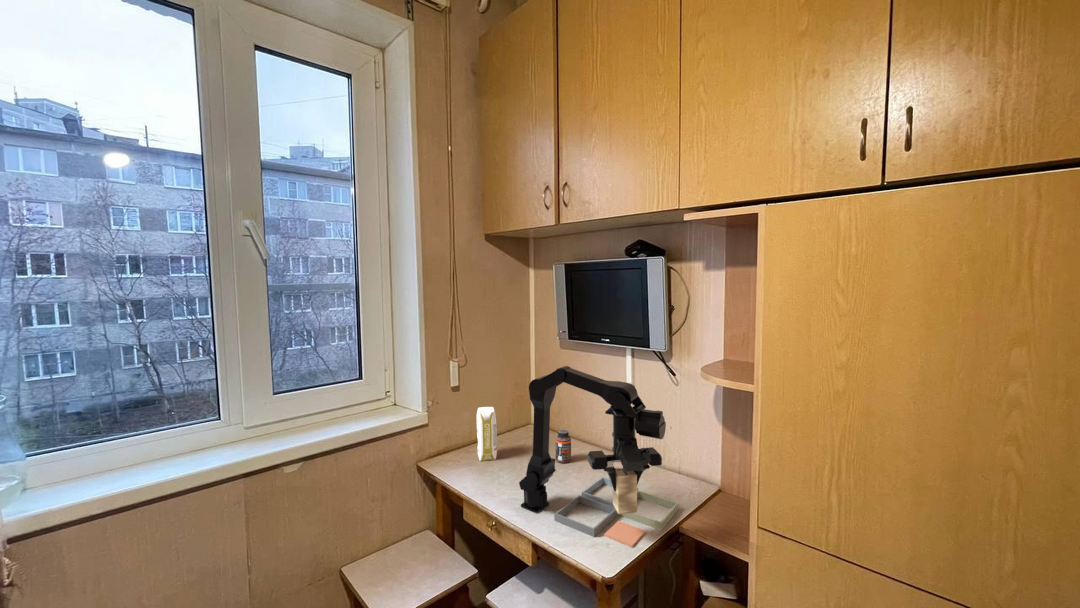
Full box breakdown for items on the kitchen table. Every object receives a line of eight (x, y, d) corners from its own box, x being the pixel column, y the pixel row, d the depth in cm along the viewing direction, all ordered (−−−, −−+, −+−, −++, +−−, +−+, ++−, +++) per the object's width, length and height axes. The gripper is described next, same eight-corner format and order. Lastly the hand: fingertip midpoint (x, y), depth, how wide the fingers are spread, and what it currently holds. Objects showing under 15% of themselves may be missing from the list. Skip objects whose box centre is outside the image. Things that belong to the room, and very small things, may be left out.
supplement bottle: (562, 465, 155) (561, 435, 154) (552, 459, 159) (552, 430, 159) (574, 460, 158) (574, 431, 158) (564, 455, 163) (564, 427, 163)
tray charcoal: (554, 520, 118) (554, 513, 118) (579, 501, 128) (579, 495, 128) (594, 536, 110) (593, 529, 110) (617, 515, 120) (617, 508, 120)
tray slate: (581, 498, 130) (581, 492, 130) (602, 482, 140) (602, 476, 140) (619, 511, 122) (618, 505, 122) (638, 493, 132) (638, 487, 132)
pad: (604, 536, 110) (604, 534, 110) (618, 522, 117) (618, 520, 117) (632, 547, 105) (632, 545, 105) (645, 532, 112) (645, 530, 112)
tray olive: (618, 514, 121) (618, 507, 120) (637, 496, 131) (637, 490, 131) (661, 530, 112) (661, 522, 112) (678, 509, 123) (678, 502, 123)
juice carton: (496, 452, 168) (495, 405, 167) (497, 460, 160) (496, 411, 159) (477, 453, 167) (476, 406, 166) (477, 462, 158) (476, 413, 158)
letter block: (618, 514, 108) (618, 475, 108) (612, 504, 113) (612, 467, 112) (637, 512, 109) (636, 474, 108) (630, 502, 114) (630, 466, 113)
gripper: (597, 445, 101) (598, 508, 101) (670, 441, 103) (671, 502, 104) (586, 429, 112) (587, 486, 113) (653, 426, 114) (653, 481, 115)
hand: (624, 489), depth 111 cm, fingers closed on letter block, 5 cm apart
